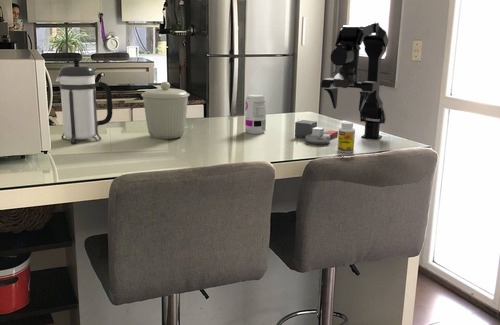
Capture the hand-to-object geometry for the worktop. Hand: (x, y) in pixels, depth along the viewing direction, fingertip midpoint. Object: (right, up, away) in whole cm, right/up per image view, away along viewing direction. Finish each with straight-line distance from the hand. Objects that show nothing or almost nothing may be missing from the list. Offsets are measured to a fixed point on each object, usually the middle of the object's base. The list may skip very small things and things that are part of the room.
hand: (347, 109), depth 188 cm
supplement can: (-31, -6, +33) cm, 46 cm away
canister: (-66, -8, +22) cm, 70 cm away
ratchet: (-5, -10, +21) cm, 23 cm away
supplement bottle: (0, -15, +2) cm, 15 cm away
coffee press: (-95, -10, +15) cm, 97 cm away
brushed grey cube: (-12, -8, +25) cm, 29 cm away
